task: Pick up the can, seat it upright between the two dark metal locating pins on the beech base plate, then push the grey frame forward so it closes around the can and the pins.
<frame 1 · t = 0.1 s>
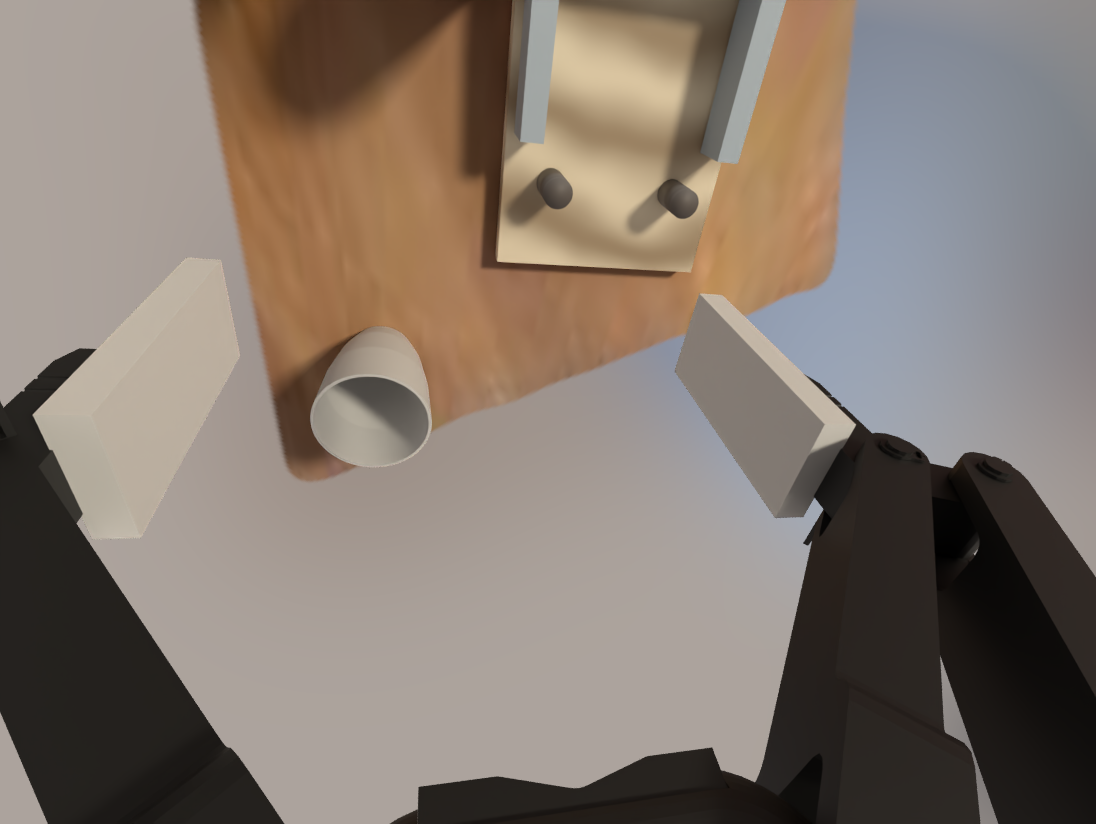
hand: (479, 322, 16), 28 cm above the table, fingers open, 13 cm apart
base plate: (616, 124, 39), on the table
cup: (382, 351, 46), on the table
grey frame: (645, 51, 34), point 3 cm above the table, slide at 0.0 cm
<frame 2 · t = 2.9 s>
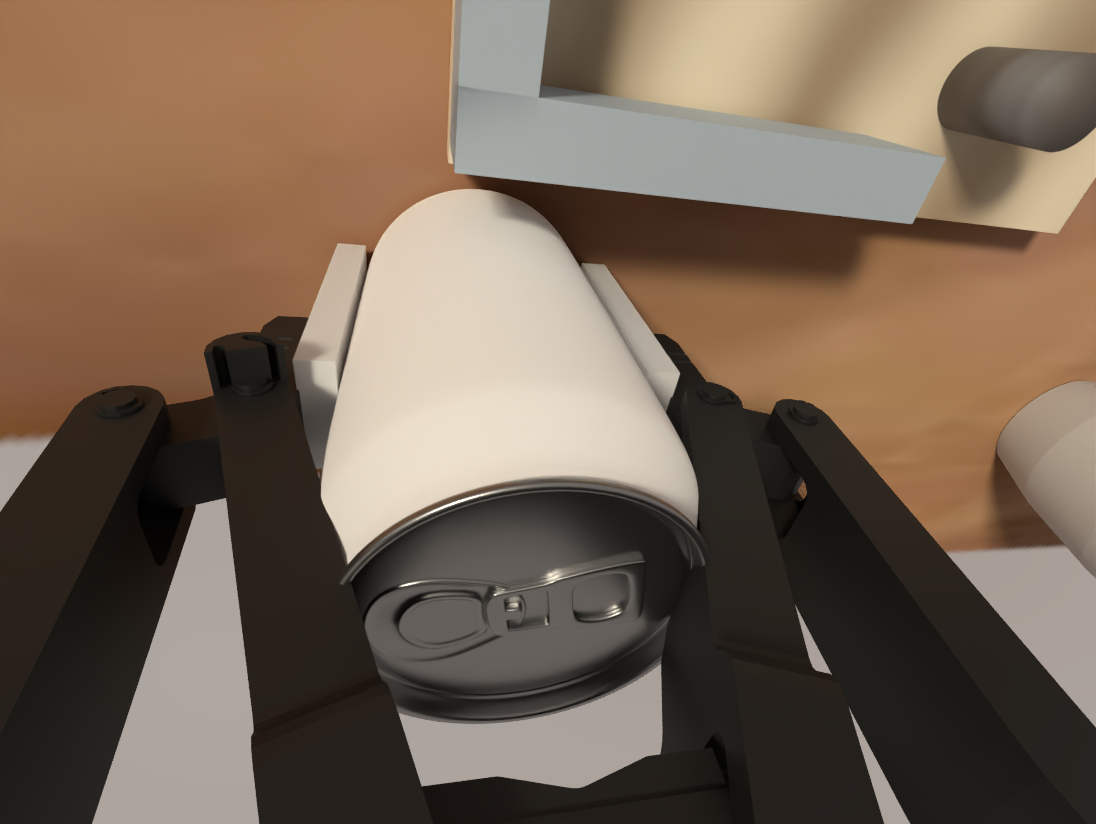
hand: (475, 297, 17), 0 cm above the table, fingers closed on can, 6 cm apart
cup: (1043, 422, 27), on the table
can: (473, 288, 18), on the table, touching gripper
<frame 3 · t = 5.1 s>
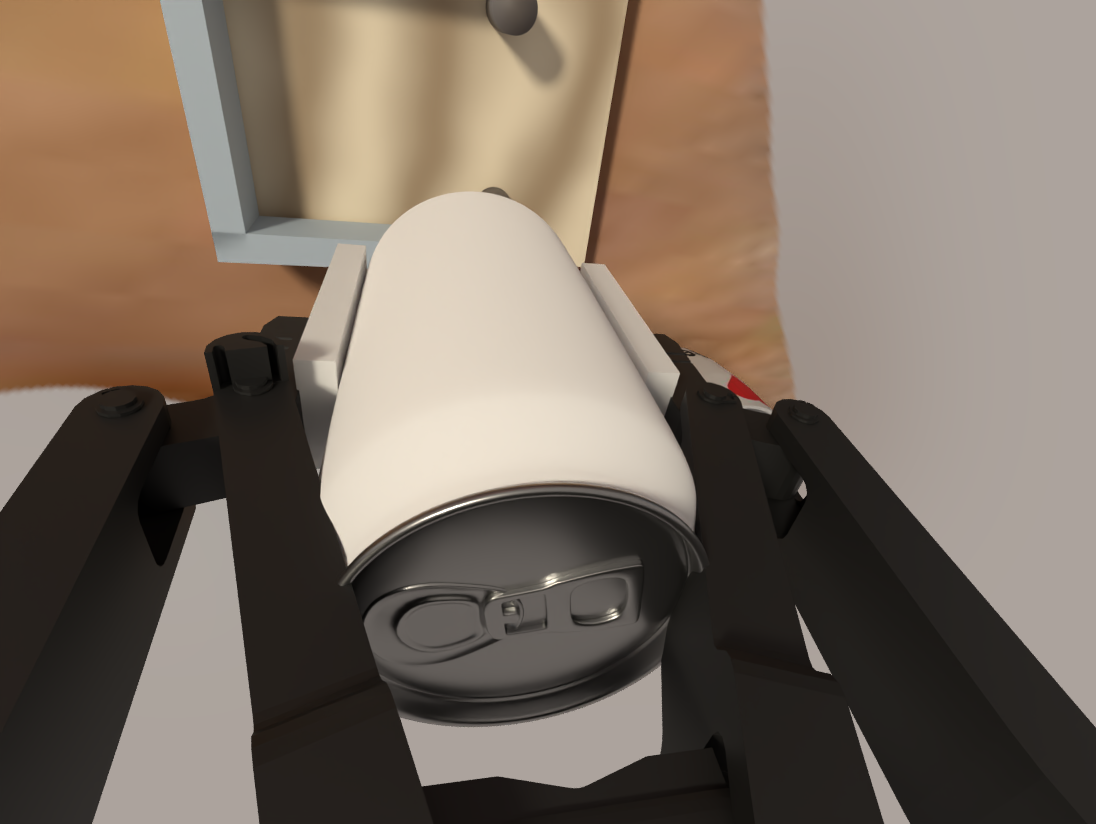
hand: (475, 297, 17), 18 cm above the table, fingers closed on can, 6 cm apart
base plate: (421, 102, 29), on the table
cup: (669, 374, 43), on the table
grey frame: (323, 100, 26), point 3 cm above the table, slide at 0.0 cm
can: (472, 290, 18), point 17 cm above the table, touching gripper
when the fingers open (3 cm above the table, at t = 7.3 s): can drops 1 cm, resting on base plate.
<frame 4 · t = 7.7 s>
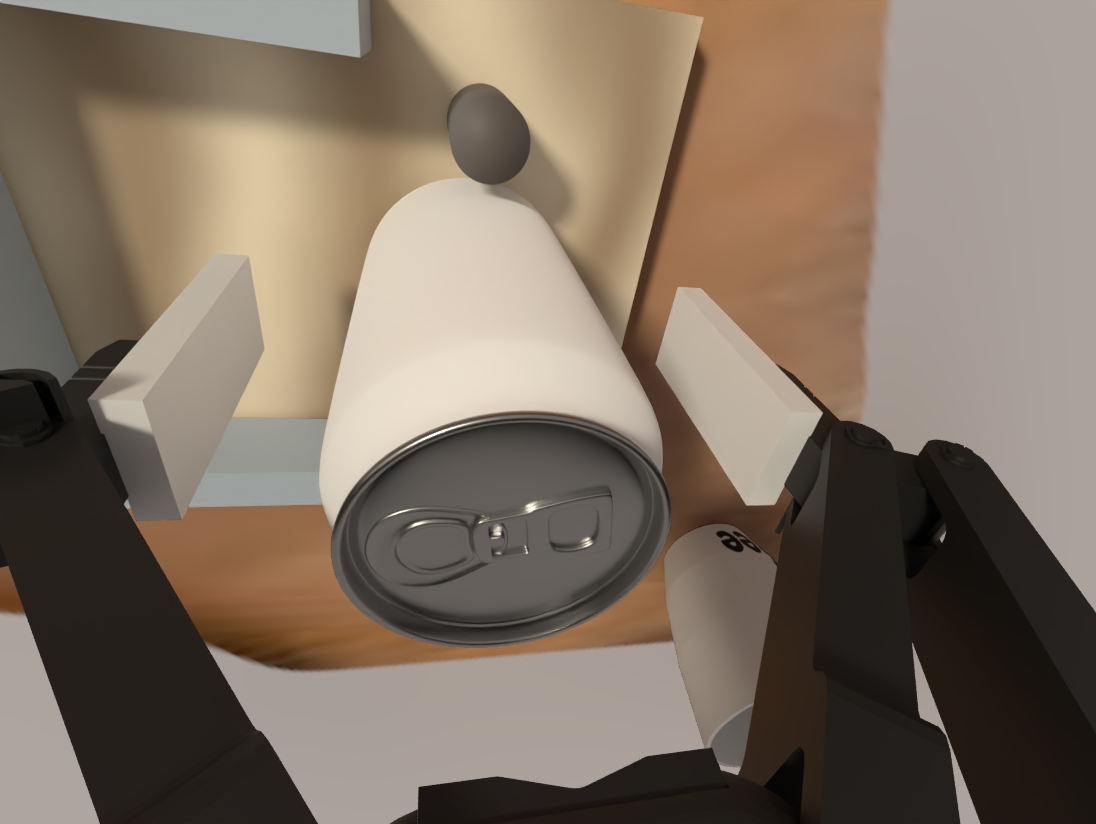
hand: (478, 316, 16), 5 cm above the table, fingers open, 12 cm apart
base plate: (352, 248, 19), on the table
cup: (702, 550, 33), on the table
grey frame: (169, 275, 15), point 3 cm above the table, slide at 0.0 cm
can: (466, 272, 19), point 1 cm above the table, touching base plate
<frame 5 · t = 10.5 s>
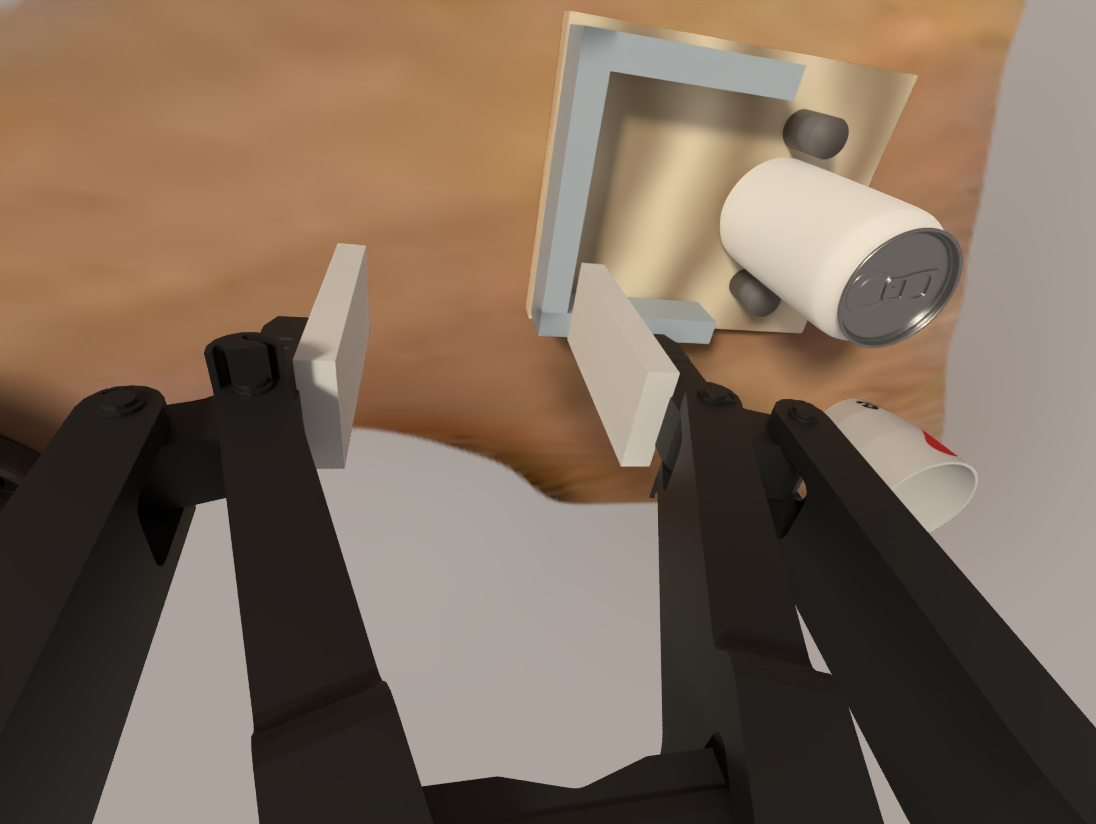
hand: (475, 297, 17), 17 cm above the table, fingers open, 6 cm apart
base plate: (700, 198, 34), on the table
cup: (839, 421, 48), on the table
grey frame: (649, 206, 30), point 3 cm above the table, slide at 0.0 cm
can: (765, 211, 34), point 1 cm above the table, touching base plate
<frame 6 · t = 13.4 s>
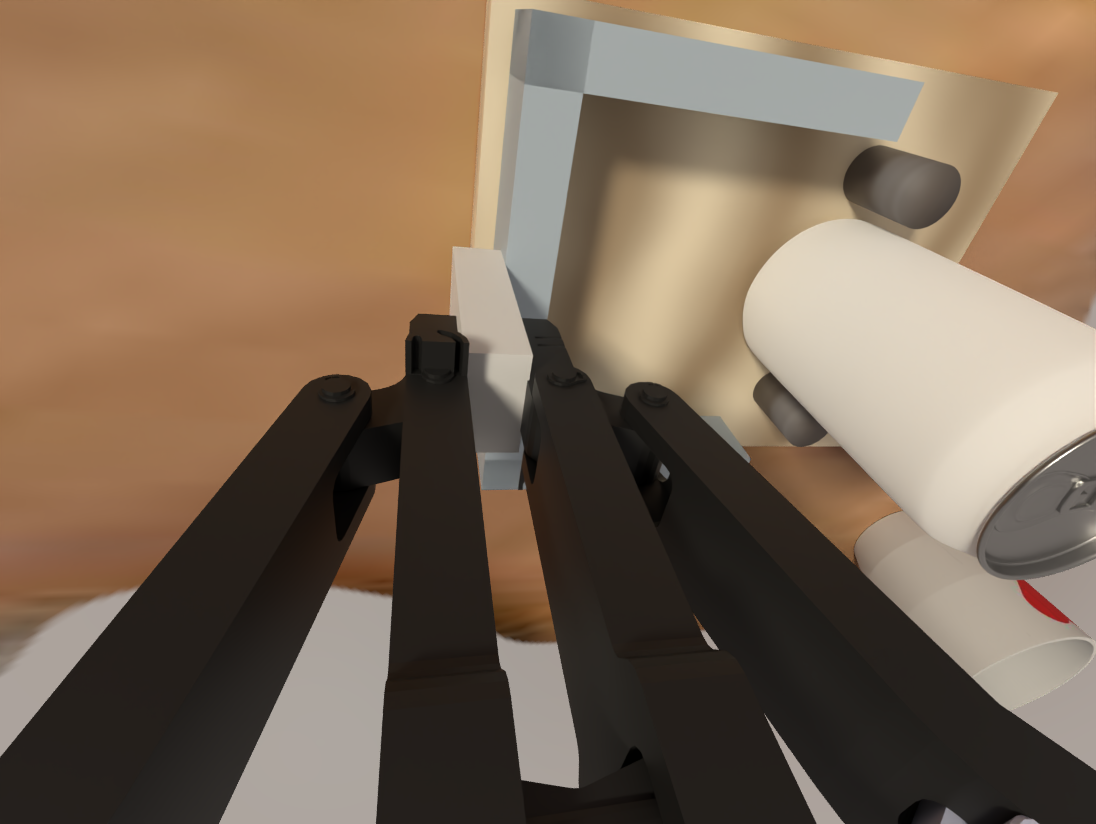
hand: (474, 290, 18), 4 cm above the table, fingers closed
base plate: (712, 273, 23), on the table
cup: (887, 534, 37), on the table
grey frame: (651, 300, 19), point 3 cm above the table, slide at 0.6 cm, touching gripper
can: (809, 293, 23), point 1 cm above the table, touching base plate
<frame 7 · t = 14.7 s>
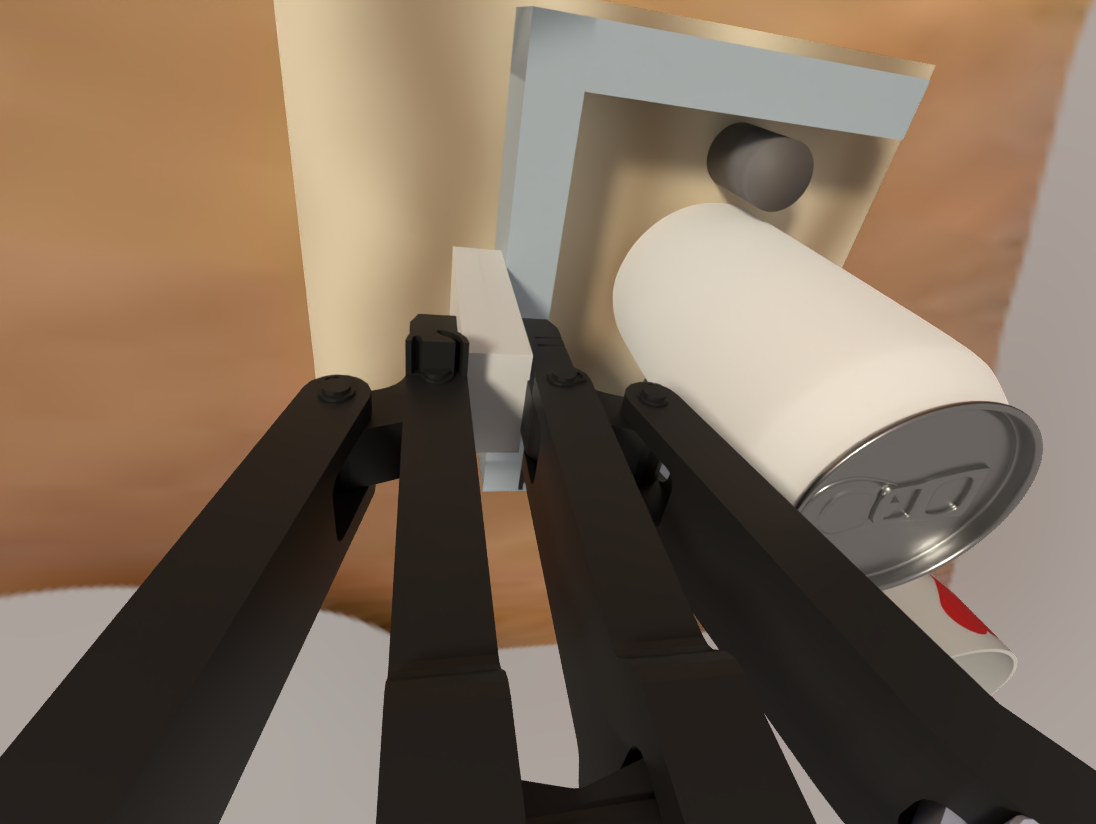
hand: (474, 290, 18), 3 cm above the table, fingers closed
base plate: (585, 262, 21), on the table
cup: (819, 539, 35), on the table
grey frame: (653, 300, 19), point 3 cm above the table, slide at 6.2 cm, touching gripper
can: (688, 283, 21), point 1 cm above the table, touching base plate
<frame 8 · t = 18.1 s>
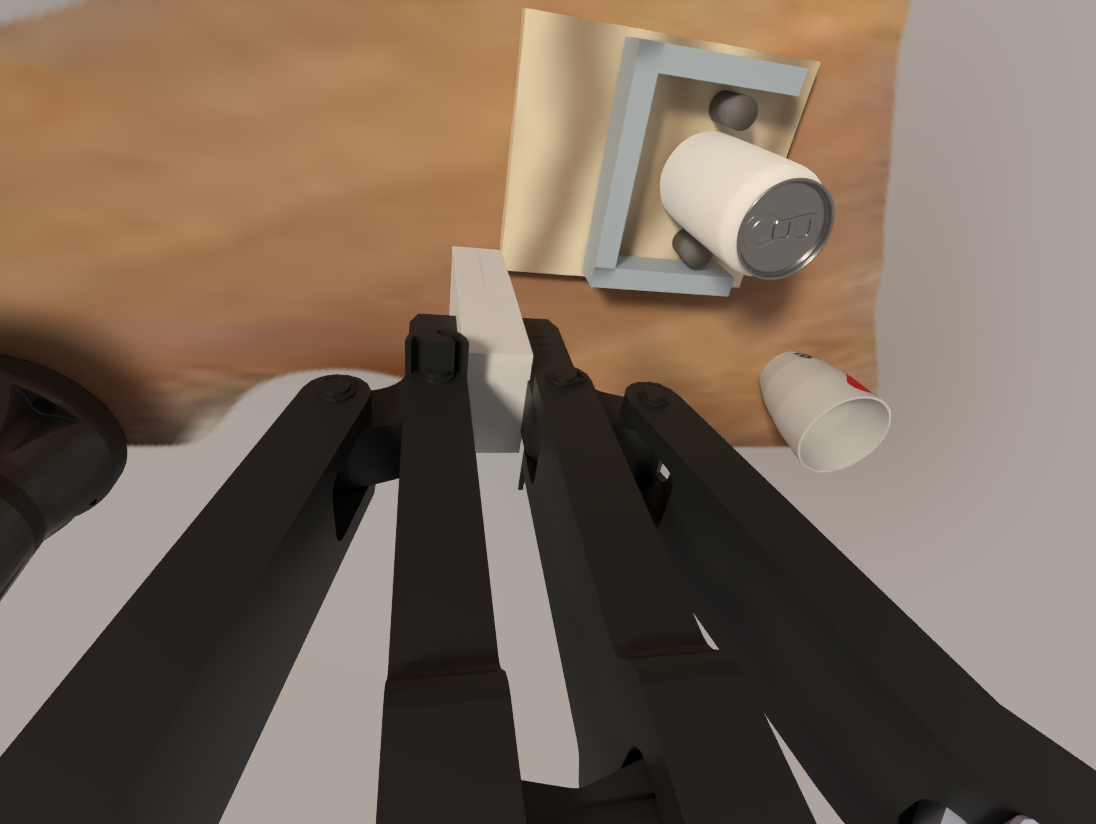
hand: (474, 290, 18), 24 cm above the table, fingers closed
base plate: (644, 167, 40), on the table
cup: (782, 372, 54), on the table
grey frame: (682, 181, 38), point 3 cm above the table, slide at 6.2 cm
can: (699, 178, 40), point 1 cm above the table, touching base plate
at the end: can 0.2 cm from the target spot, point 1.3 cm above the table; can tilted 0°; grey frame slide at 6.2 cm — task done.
